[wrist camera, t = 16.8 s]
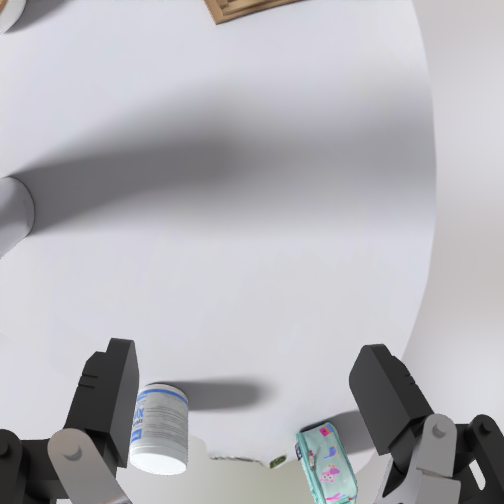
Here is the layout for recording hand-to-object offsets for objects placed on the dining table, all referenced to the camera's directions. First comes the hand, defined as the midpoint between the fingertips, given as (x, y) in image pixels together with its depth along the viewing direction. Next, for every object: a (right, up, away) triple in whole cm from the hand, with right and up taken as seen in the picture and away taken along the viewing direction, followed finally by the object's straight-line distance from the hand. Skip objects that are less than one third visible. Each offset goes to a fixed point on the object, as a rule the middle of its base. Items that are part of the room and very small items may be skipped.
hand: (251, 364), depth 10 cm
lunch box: (+16, -43, +55) cm, 72 cm away
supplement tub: (-16, -23, +41) cm, 50 cm away
